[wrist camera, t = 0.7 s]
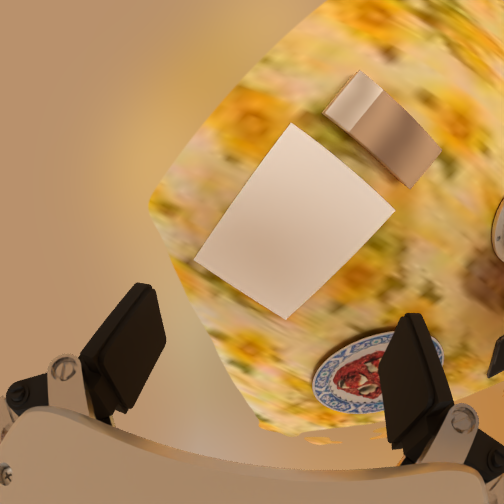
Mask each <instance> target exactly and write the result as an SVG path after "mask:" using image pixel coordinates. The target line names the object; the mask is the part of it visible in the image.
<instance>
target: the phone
mask: <svg viewBox="0 0 504 504" xmlns="http://www.w3.org/2000/svg"><path fill="white" fill-rule="evenodd" d="M502 371H504V336H502V337H500V338H499V339H498V340H497V341H496V345H495V349H494V352H493V356H492V360H491V363H490V366H489V370H488V373H487V377H488V378H491V377H493V376H494V375H496V374H498V373H500V372H502Z"/></svg>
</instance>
